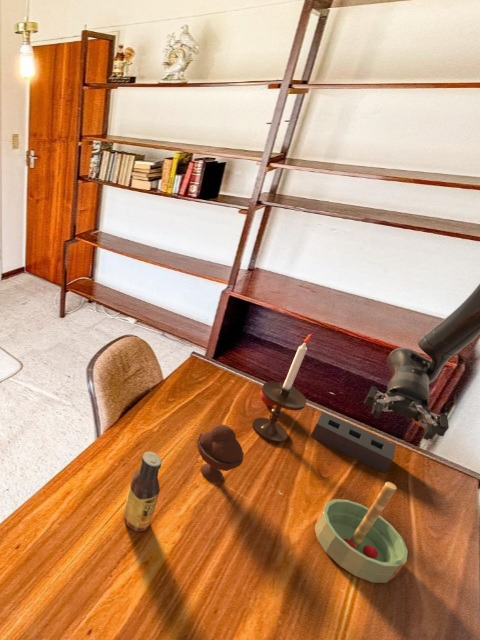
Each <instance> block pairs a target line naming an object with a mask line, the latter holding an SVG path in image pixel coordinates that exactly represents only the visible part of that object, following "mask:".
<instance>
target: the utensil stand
mask: <svg viewBox="0 0 480 640" xmlns="http://www.w3.org/2000/svg"><path fill="white" fill-rule="evenodd" d="M310 437H311V438H314V439H316V440H318V441H320V442H322V443H324V444H326V445H327V446H329V447H331V448H333V449H335V450H337V451H339V452H340V453H341V452H342V453H344V454H345V455H348V456H349V457H352V458H353V459H356V460H357V461H359V462H362V464H363V463H364V464H366V465H367V466H370V467H372V468H374V469H376V470H377V471H380V472H381V473H383V474H386V472H387V471H388V469H389V468H390V466H391V465H392V463H393V461H394V457H395V453H396V447H397V445H396V444H394V443H392V442H390V441H387V440H385V439H383V438H381V437H379V436H377V435H374V434H372V433H370V432H368V431H366V430H364V429H362V428H360V427H356V426H355V425H354V424H353V425H352V424H350V423H349V422H346V421H344V420H342V419H340V418H337V417H336V416H334V415H331V414H328V413H326V412H325V411H321V413H320V415H319V417H318V419H317V421H316V423H315V425H314V428H313V429H312V432H311V434H310Z"/></svg>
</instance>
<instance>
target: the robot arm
mask: <svg viewBox="0 0 480 640" xmlns="http://www.w3.org/2000/svg"><path fill="white" fill-rule="evenodd" d="M479 335H480V283H479V284H478V285H477V287H475V289H474V290H473V291H472V292H471V293H470V295H469V296H468V297H467V298H466V299H465V300H464V301H463V302H461V304H460V305H459V306H458V307H457V308H456V309H455V310H453V312H451V313H450V314H449V315H447V316H446V317H445V318H444V319H442V321H440V322H439V323H438V324H436V325H435V326H434V327H433V328H432V329H430V330H429V331H428V332H426V334H424V335H423V336H422V337H421V338H419V340H418V342H417V345H418V347H419V349H420V350H421V351H422V352H423V353H425V354H426V355H427V356H428V357H429V358H430V359H429V358H427V357H425V356H424V355H422V354H421V353H419V352H416V351H415V350H413V349H412V348H408V347H398V348H395V349H393V350H392V351H391V352H390V353H389V354H388V356H387V359H386V366H387V369H388V371H389V373H390V376H391V378H390V380H389V382H388V384H387V385H386V392H385V393H384V392H381V391H379V388H378V387H377V386H375V385H374V386H372V385H371V387H370V389H369V392H368V393H367V396H366V397H365V399H364V401H363V404H364V405H365V406H370V407H372V409H371V412H370V413H371V415H373V417H374V418H375V419H376V420H378V419H379V418H380V416H381V415H382V412H385V413H386V412H387V413H389V412H393V413H396V414H398V415H401V416H403V417H406V418H408V419H410V420H411V421H413V422H414V423H415V424H416V425H417V426H418V427H421V428H422V429H423V433H422V434H423V436H422V439H424V440H426V441H429V440H433V439H434V438H435V436H436V435H438V436H439V437H444V436H445V434H446V432H447V431H448V430H449V428H450V427H449V419H448V415H447V414H445V413H443V412H440V413H439V414H437V413H434V412H432V411H431V410H430V408H429V402H430V393H431V392H430V387H429V386H430V384H432V383H433V382H434V381H435V380H436V379H437V378H438V376H439V374H440V373H441V371H442V370H443V368H444V366H446V364H447V363H448V361H449V360H450V359H451V358H452V357H453V356H456V355H457V353H459V352H461V351H462V350H463V349H464V348H465V347H467V346H468V345H470V344H471V343H472V342H473V341H475V339H476V338H478V336H479ZM379 398H380V399H379Z"/></svg>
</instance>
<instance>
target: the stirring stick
mask: <svg viewBox="0 0 480 640" xmlns="http://www.w3.org/2000/svg"><path fill="white" fill-rule="evenodd" d="M397 489H398V488H397V485H395V484H394V483H392V482H391V481H386V482H385V484H384V485H383V487H382V488H381V490H380V491H379V492H378V495H377V496H376V497H375V499H374V501H373V502H372V504H371V505H370V507H369V510H368V512H367V514H366V515H365V517H364V518H363V520H362V521H361V523H360V525H359V526H358V528H357V529H356V531H355V532H354V534H353V536H352V537H351V539H350V541H352V542H353V544H354V546H355V550H357V548H358V547H359V545H360V544H361V542H362V541H363V539H364V538H365V536H366V535H367V533H368V532H369V530H370V529H371V527H372V526H373V524H374V523H375V521H376V520H377V518H378V517H379V515H380V516H381V514H382V512H383V511H384V509H385V507H386V506H387V505H388V503H389V502H390V500H391V498H392V496H394V494H395V492H396V491H397Z"/></svg>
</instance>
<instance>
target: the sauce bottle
mask: <svg viewBox="0 0 480 640" xmlns="http://www.w3.org/2000/svg"><path fill="white" fill-rule="evenodd" d="M162 464H163V463H162V458H161V457H160V456H159V454H158V453H155V452H153V451H145V452H144V453H142V456H141V464H140V467H139V469H137V470H136V471H134V472H133V475H132V478H131V481H130V483H129V488H128V491H127V496H126V500H125V504H124V508H123V520H124V523H125V524H126V525H127V527H128V528H130V530H132V531H134V532H138V533H139V532H144V531H146V530H147V529H148V528H149V526H150V524H151V523H152V519H153V516H154V513H155V509H156V506H157V503H158V499H159V495H160V491H161V488H160V483H159V482H160V481H159V478H158V477H159V470H160V469H161V467H162Z"/></svg>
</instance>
